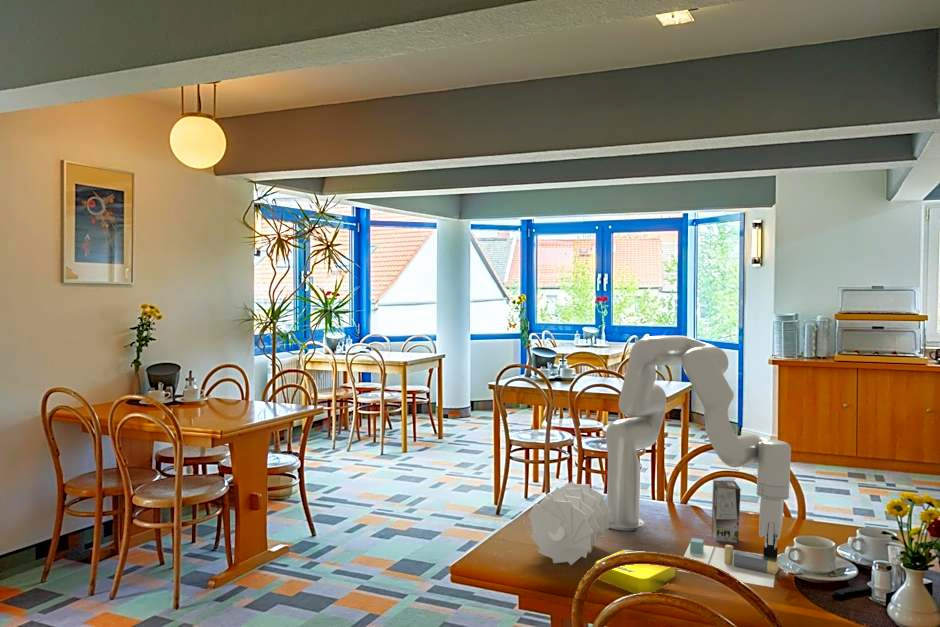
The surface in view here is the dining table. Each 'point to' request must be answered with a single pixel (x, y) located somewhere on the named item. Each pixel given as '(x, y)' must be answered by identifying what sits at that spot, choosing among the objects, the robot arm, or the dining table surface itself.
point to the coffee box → (725, 511)
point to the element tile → (638, 576)
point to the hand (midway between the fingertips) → (770, 562)
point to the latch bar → (756, 562)
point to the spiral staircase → (569, 522)
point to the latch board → (731, 568)
